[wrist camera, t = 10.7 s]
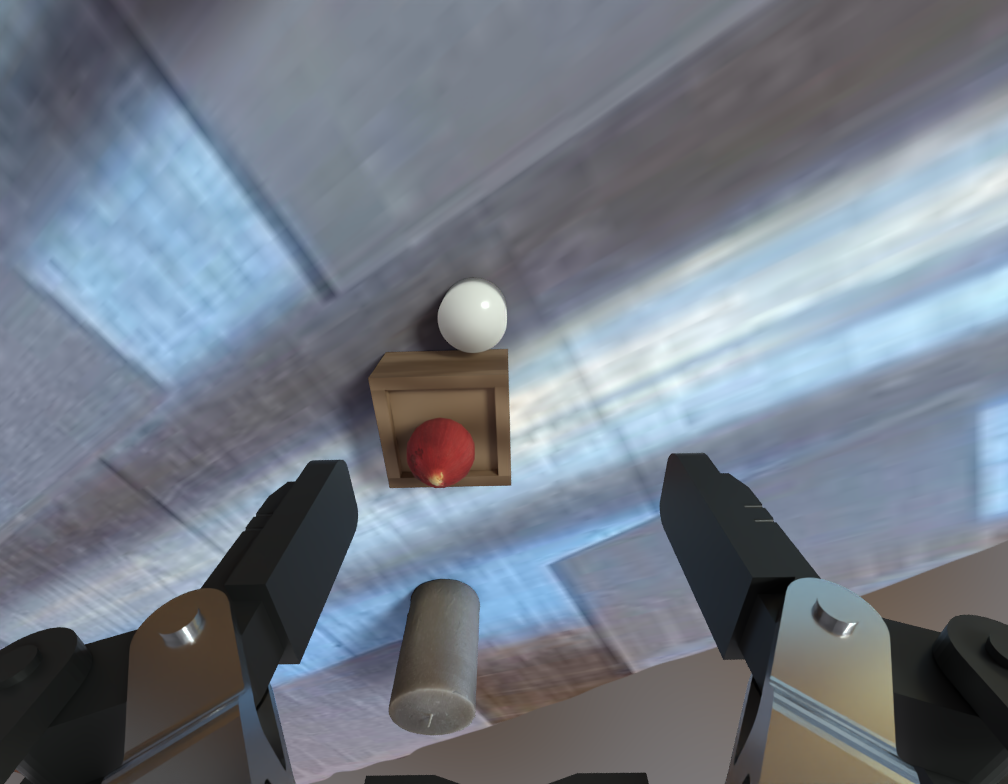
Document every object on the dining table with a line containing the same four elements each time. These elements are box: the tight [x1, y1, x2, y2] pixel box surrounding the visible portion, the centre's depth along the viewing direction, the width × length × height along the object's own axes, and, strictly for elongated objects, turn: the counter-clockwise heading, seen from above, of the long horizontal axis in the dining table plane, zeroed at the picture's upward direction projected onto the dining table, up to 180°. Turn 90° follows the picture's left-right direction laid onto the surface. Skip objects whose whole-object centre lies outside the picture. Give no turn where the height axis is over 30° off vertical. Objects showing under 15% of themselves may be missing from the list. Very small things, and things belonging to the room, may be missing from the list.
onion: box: [407, 418, 475, 488], centre depth 36 cm, size 6×6×8 cm
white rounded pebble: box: [438, 277, 507, 353], centre depth 38 cm, size 6×6×4 cm
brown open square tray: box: [368, 349, 511, 488], centre depth 41 cm, size 12×12×6 cm
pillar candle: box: [389, 579, 480, 735], centre depth 51 cm, size 10×10×15 cm
